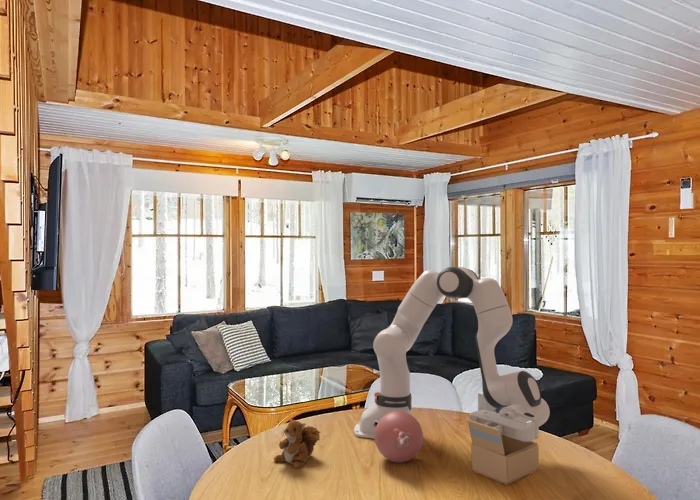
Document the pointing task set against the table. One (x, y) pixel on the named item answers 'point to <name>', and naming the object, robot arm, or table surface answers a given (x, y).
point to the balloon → (398, 436)
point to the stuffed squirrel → (297, 443)
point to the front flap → (486, 437)
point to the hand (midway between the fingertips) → (485, 430)
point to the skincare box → (484, 404)
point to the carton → (506, 460)
